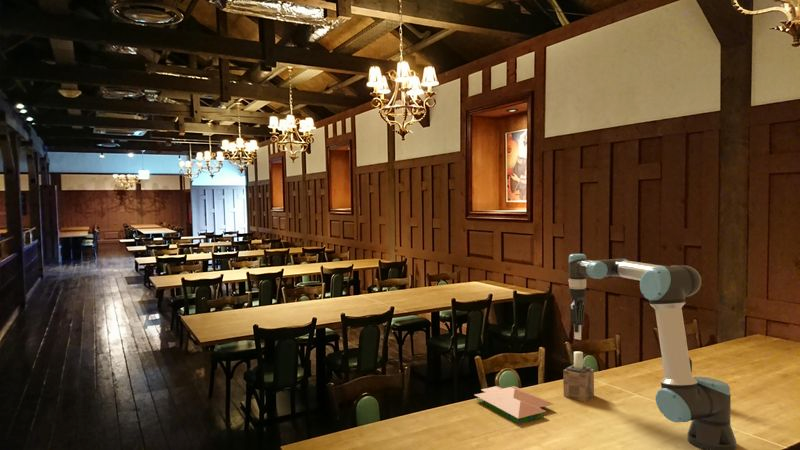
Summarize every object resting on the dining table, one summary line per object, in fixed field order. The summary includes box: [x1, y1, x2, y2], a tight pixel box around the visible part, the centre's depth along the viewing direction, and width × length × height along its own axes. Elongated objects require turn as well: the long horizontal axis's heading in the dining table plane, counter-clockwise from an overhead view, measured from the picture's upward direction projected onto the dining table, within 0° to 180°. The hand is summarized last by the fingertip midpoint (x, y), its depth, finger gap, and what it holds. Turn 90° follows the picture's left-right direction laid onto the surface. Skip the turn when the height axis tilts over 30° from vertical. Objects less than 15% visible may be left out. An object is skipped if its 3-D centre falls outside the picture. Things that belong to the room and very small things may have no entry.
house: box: [474, 385, 554, 425], centre depth 222 cm, size 23×33×8 cm
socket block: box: [562, 363, 595, 402], centre depth 233 cm, size 10×10×13 cm
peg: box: [573, 351, 584, 370], centre depth 233 cm, size 4×4×12 cm
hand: (577, 338), depth 233 cm, fingers closed
